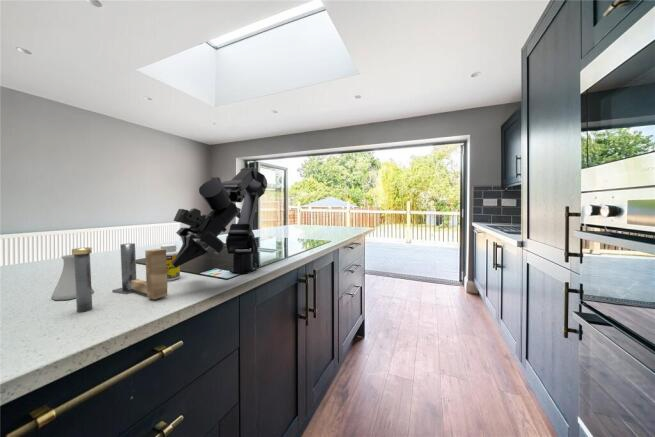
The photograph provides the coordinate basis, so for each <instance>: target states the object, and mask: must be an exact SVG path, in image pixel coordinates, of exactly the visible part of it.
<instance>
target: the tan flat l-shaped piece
mask: <svg viewBox="0 0 655 437" xmlns="http://www.w3.org/2000/svg"><path fill="white" fill-rule="evenodd" d="M144 253H145V279H146V280H142V279H139V278H136V280H131V289H134V290H138V292H142V293H145V294H146V297H147V298H148V299H151V300H157V299H160V298H163V297H167V296H168V295H169V294H168V281H167V264H166V250H165V249H161V248H153V249H148V250H147V249H146V250H145V252H144Z"/></svg>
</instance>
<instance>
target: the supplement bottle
mask: <svg viewBox="0 0 655 437" xmlns="http://www.w3.org/2000/svg"><path fill="white" fill-rule="evenodd" d="M160 249H165V250H166V264H167V282H169V281H170V282H171V281H175V280H178V279H179V278H180V277H181V270H180V269H181V268H180V267H181V265H180V266H178V267H175V266H173V265H172V263H173V261H174V260H175V258H176V256H177V254H178V252H179V251H180V250H177V244H174V243H173V244H172V243H171V244H170V243H169V244H162V245H160Z"/></svg>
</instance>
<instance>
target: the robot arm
mask: <svg viewBox="0 0 655 437" xmlns="http://www.w3.org/2000/svg"><path fill="white" fill-rule="evenodd" d="M267 188H268V180H267V178H266V176H265V174H263V173H261V172H259V171H258V170H257V169H256V168H254V167H243V168H240V171H239V172H238V173H237V174H236V175H235V176H233V178H232V179H230V180H224V181H221V179H220V177H219V176H218V177H217V176H216V177H215V176H212V177H211V178H210V180H208V181H205V182H204V183H203V184H202V185H200V186H199V188H198V193H199V194H200V196H201V198H202V199H203V201H204V202H205V203H206V205H207V207H208V208H209V209H210V211H209V212H208V214H202V211H201V210H200V209H198V208H194V207H193V208H191V209H190V210H188V209H184V208H179V209H178V211H177V212H176V214H175V216H174V218H173V221H175V222H176V223H181V224H184V225H187V226H188V227H187V226H186V227H180V228H179V229H178V230H177V231H176V232H175V233H176V234H177V235H178V236H179V237H181V240H182V245H181V247H180V249H179V250H178V251H179V252H178V254H177V256H176V258H175V260H174V261H173V263H172V265H173V266H175V267H178V266H180V267H181V266H182V265H184V264H186V263H188V262H191V261H193V260H194V259H197V258H199V257H201V256H203V255H205V254H208V253H209V251H208V249H209V248H211V249H212V252H213V253H214V254H216V255H219V254H220V253H221V252H222V251H223V250H224V249H225V245H226V250H227V254H228V255H231V254H232V269H231V270H229V273H230V272H239V273H238V274H243V273H247V274H249V273H251V272H250V271H252V270H254V269H256V270H257V269H258V268H257V267H254V259H253V255H254V254H258V253H259V252H258V249H259V244H258V242H257V240H256V237H255V234H254V232H253V231H254V230H253V229H252V227H253V223H254V219H255V215H256V212H257V211H256V210H257V207H258V202H259V199H260V198H261V197H262V196H263V195H264V194H265V192H266V189H267ZM242 202H243V203H242ZM235 203H242V206H241V208H239V207H238V206H237V205H236V204H235ZM234 218H238V219H237V220H238V221H237V223H231V222H232V221H233V220H234ZM230 223H231V225H229V224H230ZM228 225H229V230H228V233H227V236H226V238H225V244H224V242H223V241H222V240H221V239H220V237H218V236H219V235H220V234H221V233H225V232H226V231H227V228H226V227H227V226H228ZM254 271H255V270H254ZM248 272H249V273H248ZM252 272H253V271H252Z"/></svg>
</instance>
